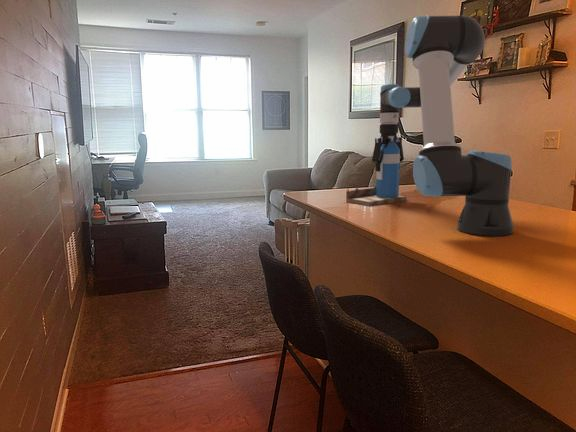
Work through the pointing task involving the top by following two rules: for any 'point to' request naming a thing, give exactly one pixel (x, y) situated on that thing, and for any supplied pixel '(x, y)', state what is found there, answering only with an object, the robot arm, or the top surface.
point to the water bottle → (389, 171)
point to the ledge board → (369, 197)
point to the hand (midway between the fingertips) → (387, 178)
